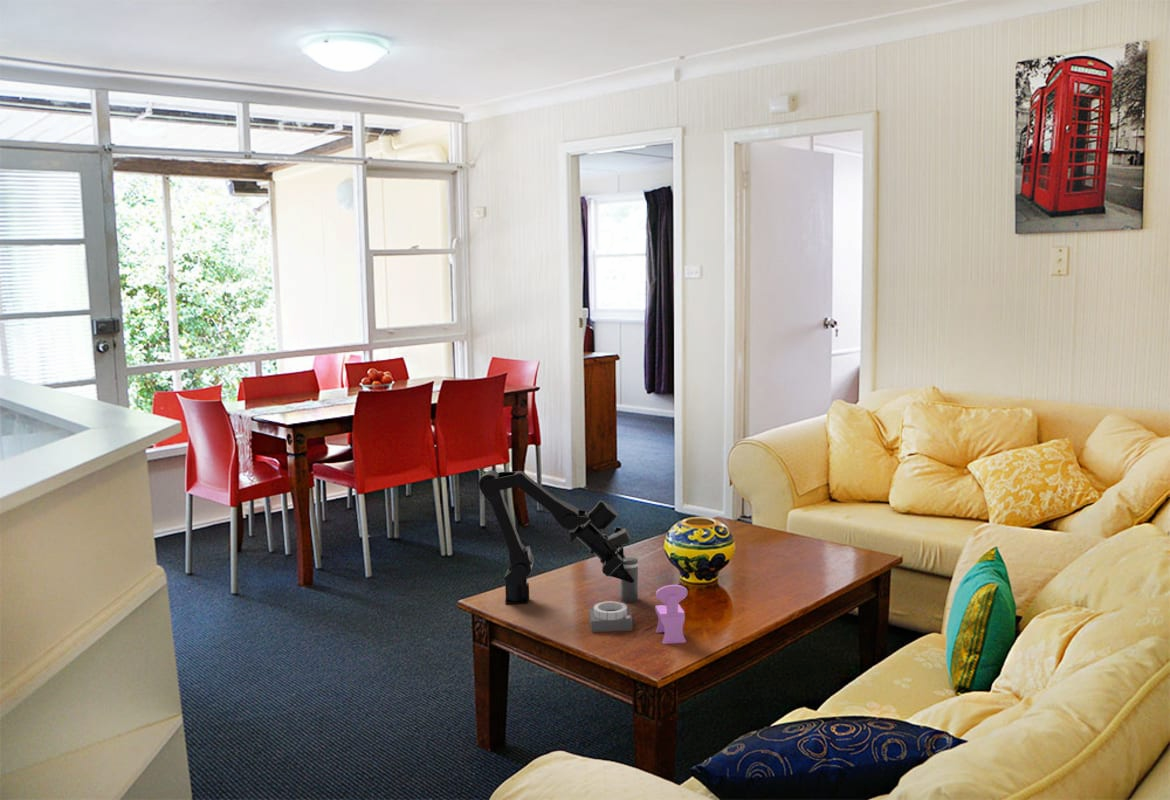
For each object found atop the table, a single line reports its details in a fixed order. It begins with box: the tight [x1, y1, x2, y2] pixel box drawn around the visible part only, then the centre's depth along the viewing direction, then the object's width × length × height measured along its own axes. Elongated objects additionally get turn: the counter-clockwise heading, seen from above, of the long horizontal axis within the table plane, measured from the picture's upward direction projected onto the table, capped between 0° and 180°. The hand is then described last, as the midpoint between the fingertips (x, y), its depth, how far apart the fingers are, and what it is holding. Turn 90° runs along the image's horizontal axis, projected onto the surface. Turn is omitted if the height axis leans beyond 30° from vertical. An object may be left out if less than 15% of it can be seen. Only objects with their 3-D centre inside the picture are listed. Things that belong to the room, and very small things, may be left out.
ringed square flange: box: [588, 600, 634, 633], centre depth 258 cm, size 11×10×5 cm
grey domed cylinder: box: [620, 557, 639, 604], centre depth 277 cm, size 5×5×12 cm
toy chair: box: [654, 584, 688, 645], centre depth 249 cm, size 8×9×15 cm
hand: (633, 576), depth 277 cm, fingers open, 9 cm apart
